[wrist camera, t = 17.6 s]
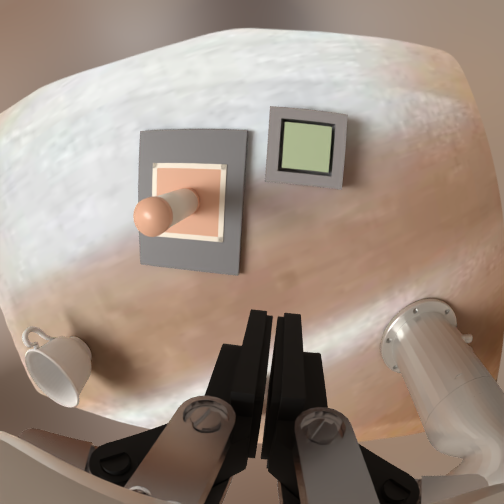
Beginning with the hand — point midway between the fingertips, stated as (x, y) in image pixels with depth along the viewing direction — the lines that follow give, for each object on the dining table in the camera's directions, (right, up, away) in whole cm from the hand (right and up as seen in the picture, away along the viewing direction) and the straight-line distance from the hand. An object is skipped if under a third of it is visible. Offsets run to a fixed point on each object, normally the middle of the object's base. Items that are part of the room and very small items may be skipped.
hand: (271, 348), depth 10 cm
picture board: (-8, +9, +24) cm, 27 cm away
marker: (-8, +9, +24) cm, 27 cm away
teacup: (-33, -13, +34) cm, 49 cm away
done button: (+5, +14, +20) cm, 25 cm away
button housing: (+5, +15, +21) cm, 26 cm away
